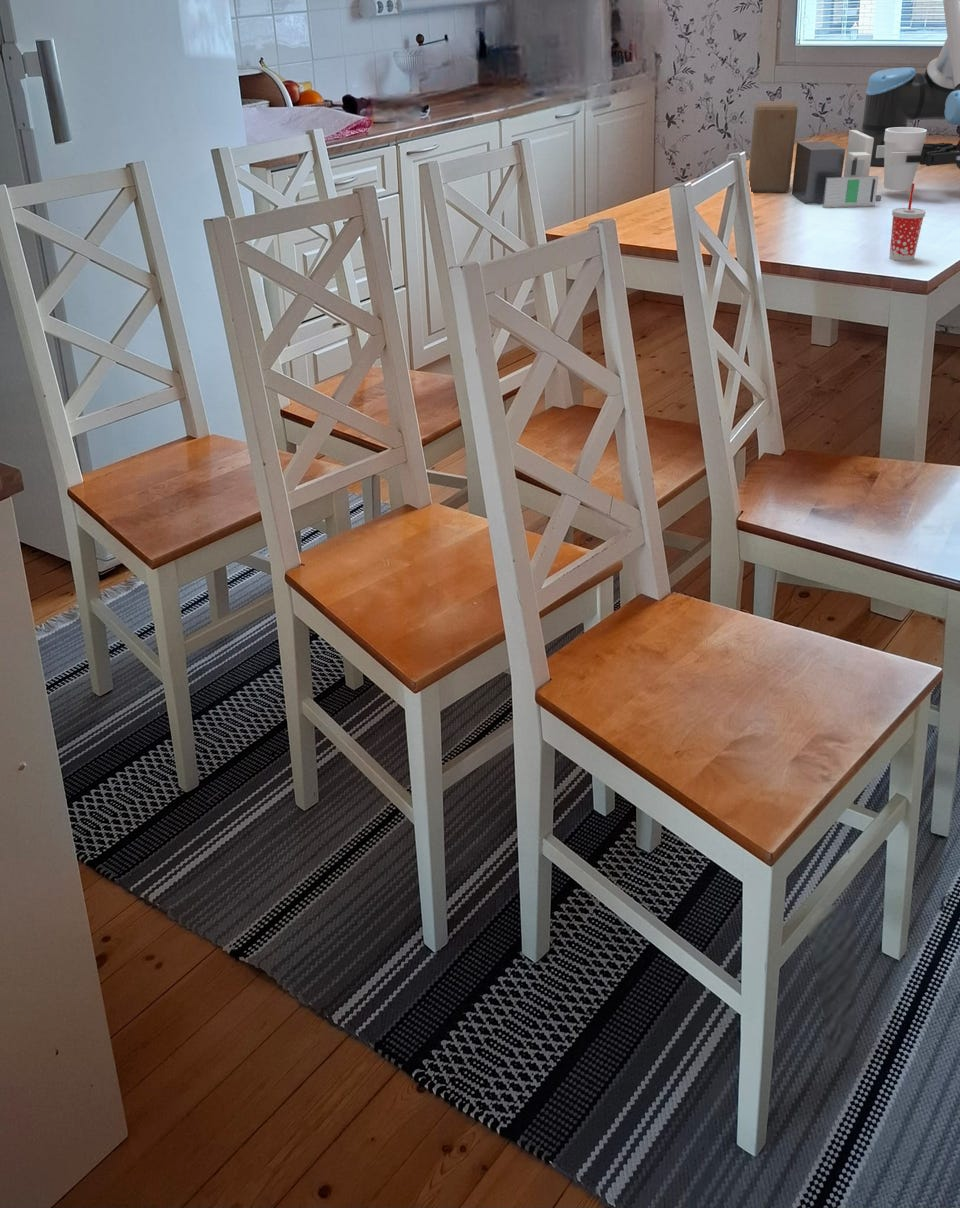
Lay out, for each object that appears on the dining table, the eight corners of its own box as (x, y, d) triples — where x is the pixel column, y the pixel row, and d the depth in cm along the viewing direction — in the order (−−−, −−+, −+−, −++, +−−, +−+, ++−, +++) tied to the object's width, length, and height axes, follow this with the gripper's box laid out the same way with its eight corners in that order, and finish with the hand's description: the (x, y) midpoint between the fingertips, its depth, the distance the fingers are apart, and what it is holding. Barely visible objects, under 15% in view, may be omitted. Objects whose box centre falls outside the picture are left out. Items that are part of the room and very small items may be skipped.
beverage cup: (909, 263, 226) (922, 187, 219) (879, 258, 230) (890, 184, 223) (923, 257, 230) (935, 182, 223) (893, 252, 234) (904, 179, 227)
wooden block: (789, 193, 288) (798, 105, 278) (747, 192, 290) (755, 105, 280) (787, 185, 296) (796, 100, 286) (747, 185, 298) (755, 100, 288)
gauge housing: (866, 192, 287) (873, 140, 281) (889, 205, 273) (898, 151, 267) (791, 194, 287) (797, 142, 281) (811, 208, 272) (817, 153, 266)
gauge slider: (848, 186, 287) (855, 129, 280) (871, 200, 272) (879, 140, 266) (826, 187, 287) (833, 130, 280) (848, 201, 272) (855, 141, 266)
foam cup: (889, 182, 287) (897, 125, 281) (925, 187, 281) (934, 129, 275) (870, 188, 281) (877, 130, 275) (905, 193, 276) (914, 134, 269)
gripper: (994, 177, 270) (898, 180, 270) (956, 161, 289) (866, 164, 289) (1000, 142, 267) (903, 145, 266) (961, 128, 286) (870, 131, 285)
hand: (884, 155), depth 277 cm, fingers closed on foam cup, 9 cm apart
